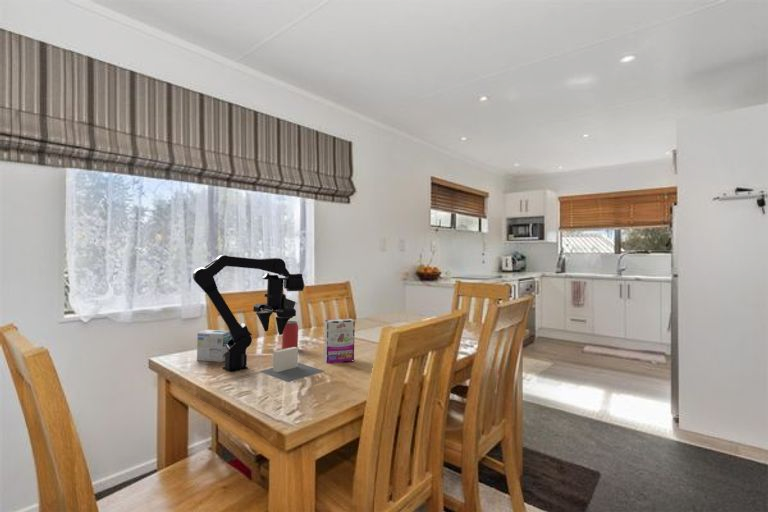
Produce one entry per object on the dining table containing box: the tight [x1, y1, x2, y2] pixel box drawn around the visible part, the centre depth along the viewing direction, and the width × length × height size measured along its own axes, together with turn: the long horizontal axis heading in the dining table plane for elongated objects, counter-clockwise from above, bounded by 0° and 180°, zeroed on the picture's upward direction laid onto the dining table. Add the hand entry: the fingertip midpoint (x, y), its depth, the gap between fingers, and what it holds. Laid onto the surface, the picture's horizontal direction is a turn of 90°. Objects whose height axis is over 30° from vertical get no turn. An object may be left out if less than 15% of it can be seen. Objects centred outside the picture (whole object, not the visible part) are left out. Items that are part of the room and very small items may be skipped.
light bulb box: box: [196, 329, 232, 363], centre depth 147 cm, size 11×7×11 cm, turn 84°
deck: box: [272, 347, 299, 372], centre depth 137 cm, size 9×2×7 cm, turn 141°
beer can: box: [281, 320, 299, 350], centre depth 164 cm, size 7×7×12 cm
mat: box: [259, 362, 325, 383], centre depth 135 cm, size 16×16×1 cm
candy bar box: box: [323, 318, 356, 364], centre depth 150 cm, size 11×5×16 cm, turn 112°
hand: (273, 333), depth 143 cm, fingers open, 8 cm apart
